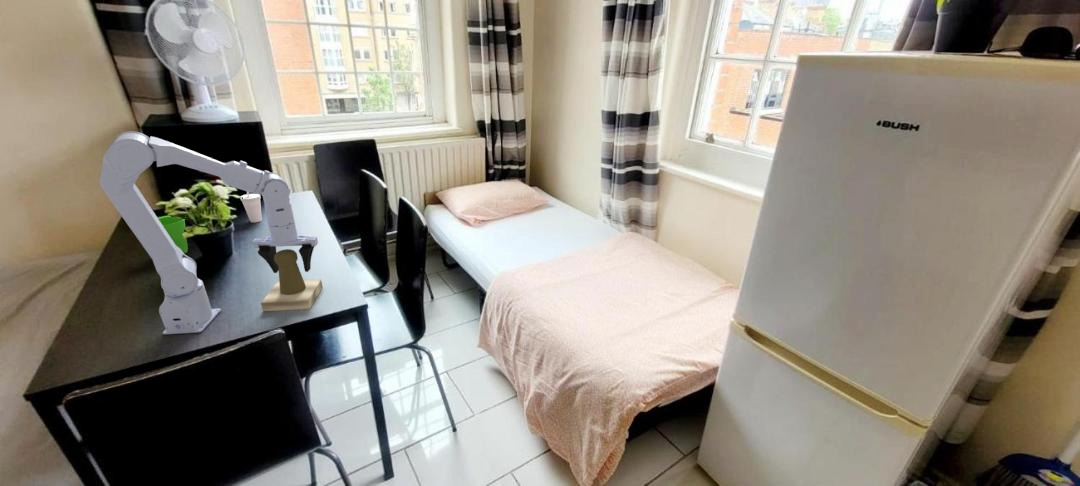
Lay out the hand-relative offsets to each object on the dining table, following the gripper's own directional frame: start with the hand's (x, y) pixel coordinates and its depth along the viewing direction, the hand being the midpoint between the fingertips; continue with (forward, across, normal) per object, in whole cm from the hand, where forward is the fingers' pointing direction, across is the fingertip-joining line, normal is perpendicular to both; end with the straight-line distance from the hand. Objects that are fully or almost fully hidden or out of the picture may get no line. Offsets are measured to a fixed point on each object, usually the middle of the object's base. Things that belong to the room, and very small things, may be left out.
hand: (292, 270), depth 113 cm
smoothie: (+7, +33, -56) cm, 66 cm away
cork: (+5, 0, +2) cm, 5 cm away
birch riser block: (+7, 0, +2) cm, 7 cm away
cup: (+7, +45, -29) cm, 54 cm away
